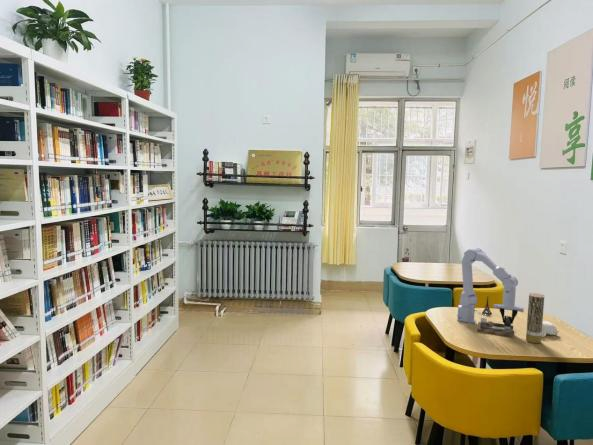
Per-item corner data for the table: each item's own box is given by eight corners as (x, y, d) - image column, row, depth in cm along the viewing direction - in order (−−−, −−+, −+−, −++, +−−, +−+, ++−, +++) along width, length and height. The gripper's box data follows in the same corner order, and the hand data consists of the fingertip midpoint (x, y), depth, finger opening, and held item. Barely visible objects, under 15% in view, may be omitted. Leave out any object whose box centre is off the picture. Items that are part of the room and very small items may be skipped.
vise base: (477, 331, 222) (477, 322, 222) (478, 324, 235) (478, 315, 234) (513, 337, 214) (514, 328, 214) (512, 329, 227) (513, 320, 226)
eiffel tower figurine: (472, 310, 263) (473, 290, 262) (486, 310, 264) (488, 290, 263) (484, 318, 248) (486, 297, 247) (500, 318, 249) (501, 297, 248)
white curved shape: (545, 336, 226) (522, 327, 224) (551, 322, 225) (528, 313, 223) (556, 342, 217) (532, 332, 215) (562, 328, 217) (539, 318, 215)
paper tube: (540, 340, 211) (543, 294, 209) (541, 344, 205) (545, 297, 203) (525, 338, 214) (528, 292, 212) (526, 342, 208) (529, 295, 205)
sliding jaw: (503, 331, 219) (504, 318, 218) (503, 326, 226) (504, 314, 225) (510, 332, 217) (511, 319, 217) (510, 327, 224) (511, 315, 224)
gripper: (494, 298, 220) (493, 322, 221) (524, 302, 213) (523, 327, 215) (494, 295, 226) (493, 319, 227) (523, 299, 220) (522, 323, 221)
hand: (507, 322), depth 221 cm, fingers closed on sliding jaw, 3 cm apart
